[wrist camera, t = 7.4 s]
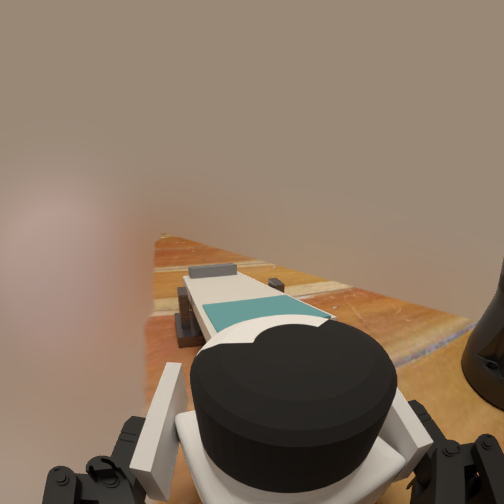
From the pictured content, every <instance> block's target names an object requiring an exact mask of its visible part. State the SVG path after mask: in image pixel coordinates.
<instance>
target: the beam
mask: <svg viewBox="0 0 504 504" xmlns="http://www.w3.org/2000/svg"><path fill="white" fill-rule="evenodd" d="M183 285H184V287H186V289H187V293H188V298H189V301H190V303H191V306H192V308H193V311H194V313H195V316H196V318H197V321H198V323H199V326H200V328H201V330H202V333H203V335H204V337H205V340H206V342H208V341H209V340H210V339H211V338H212V337H213V336H215V335H216V334H217V333H219V332H220V331H222V330H224V329H225V328H228V327H230V326H232V325H234V324H237V323H240V322H243V321H246V320H250V319H255V318H260V317H266V316H274V315H288V314H296V315H310V316H317V317H322V318H326V319H331V320H335V321H337V317H336V316H333V315H331V314H329V313H327V312H325V311H322V310H320V309H318V308H316V307H313V306H311V305H309V304H307V303H305V302H302V301H300V300H298V299H296V298H294V297H291V296H289V295H287V294H285V293H283V292H280V291H278V290H276V289H274V288H272V287H270V286H268V285H265V284H263V283H261V282H259V281H257V280H255V279H253V278H250V277H248V276H246V275H244V274H242V273H240V272H238V271H237V265H235V264H233V263H228V264H215V265H203V266H190V267H189V276H183Z"/></svg>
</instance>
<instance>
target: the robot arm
mask: <svg viewBox="0 0 504 504" xmlns="http://www.w3.org/2000/svg"><path fill="white" fill-rule="evenodd" d="M462 367H463V371H464V373H465V375H466V377H467V379H468V381H469V382H470V384H471V385H472V386H473V387H474V389H475V390H476V391H477V392H478V393H479V394H480V395H481V396H483V397H484V398H485V399H486V400H488V401H489V402H491V403H492V404H494V405H496V406H497V407H499V408H501V409H504V259H503V265H502V269H501V275H500V279H499V284H498V288H497V291H496V294H495V296H494V298H493V299H492V301H491V303H490V305H489V306H488V308H487V309H486V311H485V313H484V314H483V316H482V318H481V319H480V321H479V322H478V324H477V325H476V327H475V328H474V330H473V331H472V333H471V334H470V336H469V339H468V341H467V344H466V347H465V350H464V352H463V355H462ZM187 405H188V397H187V392H186V386H185V381H184V375H183V368H182V363H171V362H167V364H166V366H165V369H164V371H163V374H162V377H161V379H160V382H159V385H158V387H157V390H156V393H155V395H154V398H153V401H152V403H151V406H150V409H149V412H148V414H147V417H146V418H142V417H136V416H132V417H131V418H129V419H128V420H127V421H126V422H125V423H124V426H123V428H122V430H121V433H120V435H119V438H118V440H117V442H116V445H115V447H114V450H113V452H112V455H111V457H108V456H97V457H94V458H92V459H91V460H90V461H89V462H88V463H87V465H86V472H87V473H88V474H76V473H74V472H73V471H72V470H71V469H70V468H68V467H65V466H57V467H54V468H52V469H51V470H50V471H49V473H48V476H47V481H46V486H45V490H44V496H43V501H42V504H146V503H145V497H146V494H147V495H148V497H149V498H150V499H154V500H160V501H166V502H168V499H169V494H170V489H171V483H172V478H173V473H174V468H175V462H176V457H177V452H178V447H179V443H180V440H179V436H178V433H177V430H176V426H175V416H176V415H177V414H179V413H184V412H186V409H187ZM378 436H379V437H380V438H381V439H382V440H384V441H385V442H386V443H387V444H388V445H390V446H391V447H392V448H393V449H395V450H396V451H397V452H398V453H399V454H401V455H402V456H403V457H404V458H405V461H406V463H405V466H404V467H403V469H402V470H401V471H400V473H399V474H398V475H397V477H396V478H395V479H394V481H393V483H394V482H396V481H399V480H402V479H405V478H408V477H409V475H410V474H411V473H412V471H414V473H415V475H416V476H415V477H414V478H413V480H412V481H411V482H410V483H409V484H408V485H407V488H406V489H409V488H410V487H411V486H412V492H411V499H410V504H504V454H503V452H502V450H501V448H500V446H499V443H498V441H497V440H496V438H495V437H494V436H492V435H490V434H482V435H481V436H479V437H478V438H477V440H476V441H475V442H474V443H468V444H462V445H460V444H459V443H458V442H456V441H454V440H447V439H446V438H445V436H444V435H443V434H442V432H441V431H440V429H439V428H438V426H437V425H436V423H435V422H434V421H433V419H431V416H430V415H429V414H428V413H427V411H426V409H425V408H424V406H423V405H422V404H420V403H419V402H417V401H416V400H412V401H408V402H407V401H406V399H405V398H404V396H403V395H402V393H401V392H400V390H399V389H398V388H397V390H396V395H395V398H394V400H393V403H392V405H391V407H390V410H389V412H388V415H387V417H386V419H385V421H384V424H383V426H382V428H381V430H380V432H379V434H378ZM477 472H478V474H479V476H478V475H477Z"/></svg>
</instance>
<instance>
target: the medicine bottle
mask: <svg viewBox="0 0 504 504" xmlns="http://www.w3.org/2000/svg"><path fill="white" fill-rule="evenodd" d="M190 384H191V390H192V396H193V402H194V407H195V410H194V411H189V412H184V413H179V414H177V415H176V416H175V426H176V430H177V433H178V436H179V440H180V443H181V447H182V450H183V453H184V456H185V459H186V462H187V465H188V468H189V471H190V474H191V477H192V480H193V483H194V485H195V488H196V490H197V492H198V495H199V497H200V499H201V502H202V504H375V503H376V501H377V500H378V499H379V498H380V497H381V496H382V494H383V493H384V492H385V491H386V490H387V488H388V487H389V486H390V485H391V483H392V482H393V481H394V479H395V478H396V477H397V475H398V474H399V473H400V471H401V470H402V469H403V467H404V466H405V463H406V461H405V458H404V457H403V456H402V455H401V454H399V453H398V452H397V451H396V450H395V449H393V448H392V447H391V446H390V445H388V444H387V443H386V442H385V441H384V440H382V439H381V438H380V437H379V436H378V434H379V432H380V430H381V428H382V426H383V424H384V421H385V419H386V417H387V415H388V412H389V410H390V407H391V405H392V403H393V400H394V398H395V395H396V390H397V374H396V370H395V367H394V365H393V363H392V361H391V359H390V358H389V356H388V354H387V353H386V351H385V350H384V349H383V347H382V346H381V345H380V344H379V343H378V342H377V341H376V340H375V339H373V338H372V337H371V336H369V335H368V334H366V333H364V332H363V331H361V330H359V329H357V328H355V327H352V326H350V325H347V324H345V323H341V322H338V321H335V320H331V319H326V318H322V317H317V316H310V315H296V314H288V315H274V316H266V317H260V318H255V319H250V320H246V321H243V322H240V323H237V324H234V325H232V326H230V327H228V328H225V329H224V330H222V331H220V332H219V333H217V334H216V335H215V336H213V337H212V338H211V339H210V340H209V341H208V342H207V343H206V344H205V345H204V346H203V347H202V349H201V350H200V351H199V352H198V354H197V355H196V357H195V358H194V361H193V363H192V366H191V371H190Z"/></svg>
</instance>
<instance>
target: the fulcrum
mask: <svg viewBox="0 0 504 504" xmlns="http://www.w3.org/2000/svg"><path fill="white" fill-rule="evenodd" d="M268 286H270V287H272V288H274V289H276V290H278V291H280V292H283V293H284V284H283V283H282V282H281V281H280V280H278V279H277V278H271V279H269V284H268ZM177 291H178V302H179V312H180V313H174V314H175V322H176V329H177V336H178V343H179V348H180V347H190V346H199V345H205V344H206V343H207V342H206V340H205V337H204V335H203V333H202V330H201V328H200V326H199V323H198V321H197V318H196V316H195V313H194V312H189V301H188V293H187V289H186V287H178V288H177Z"/></svg>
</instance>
